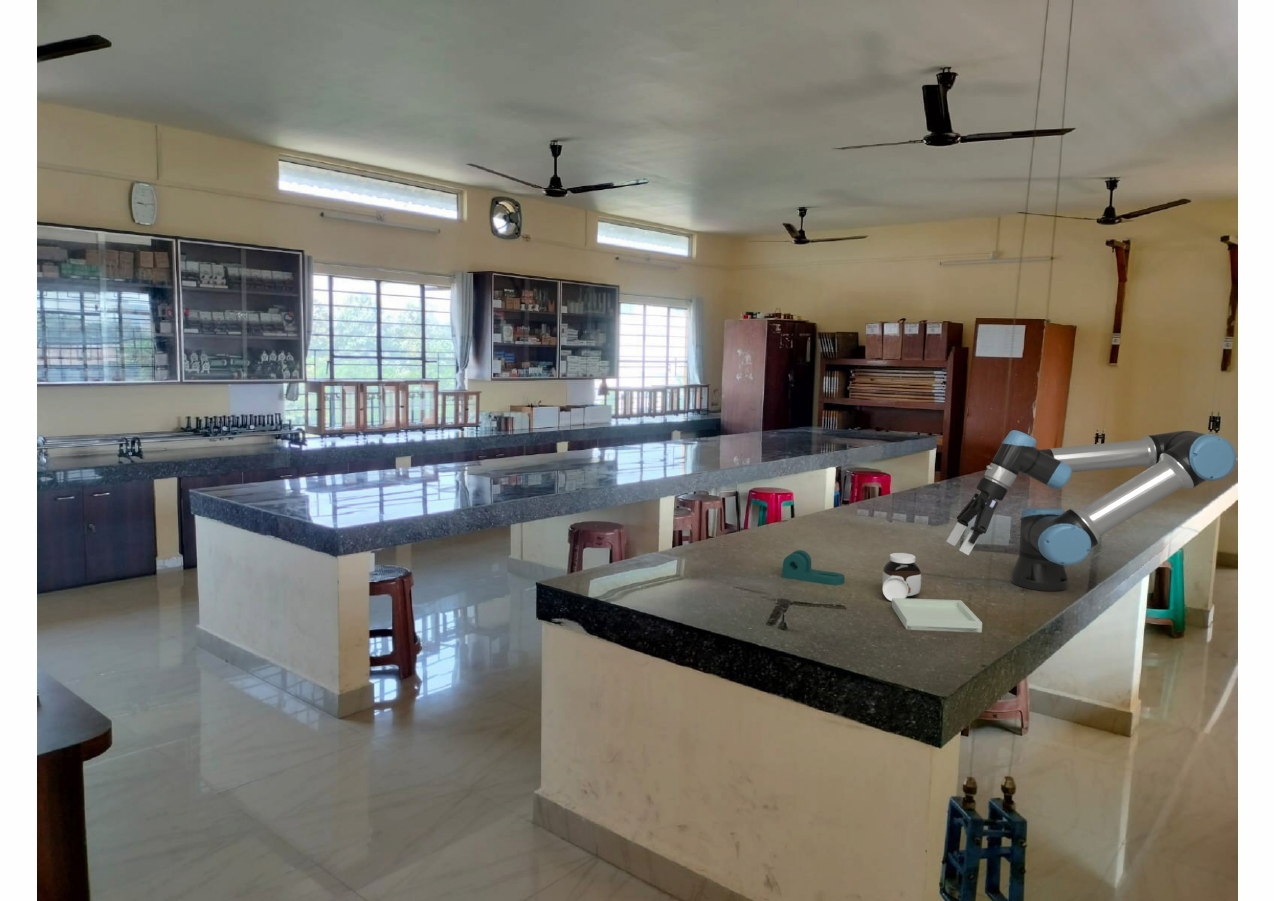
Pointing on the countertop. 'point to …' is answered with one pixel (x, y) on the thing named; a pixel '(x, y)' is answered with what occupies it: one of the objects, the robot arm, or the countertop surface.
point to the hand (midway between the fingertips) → (956, 548)
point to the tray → (936, 615)
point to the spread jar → (901, 577)
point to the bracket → (808, 570)
